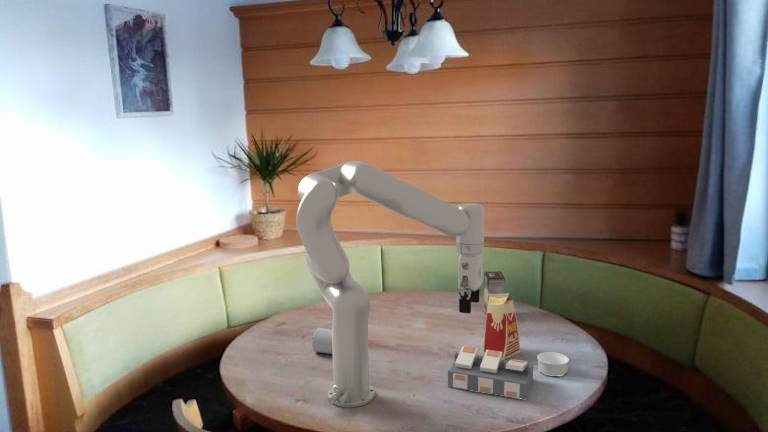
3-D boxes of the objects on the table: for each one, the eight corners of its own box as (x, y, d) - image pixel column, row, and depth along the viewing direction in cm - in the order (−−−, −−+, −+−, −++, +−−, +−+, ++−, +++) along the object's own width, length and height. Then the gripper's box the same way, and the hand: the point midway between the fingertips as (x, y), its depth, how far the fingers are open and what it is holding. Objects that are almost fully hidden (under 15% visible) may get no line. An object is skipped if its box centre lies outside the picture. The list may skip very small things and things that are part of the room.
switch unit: (524, 401, 150) (525, 375, 149) (447, 387, 158) (447, 363, 157) (532, 379, 162) (533, 355, 161) (460, 367, 170) (460, 345, 169)
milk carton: (520, 351, 181) (522, 290, 178) (504, 361, 175) (506, 298, 171) (495, 344, 188) (496, 285, 184) (479, 353, 181) (480, 292, 178)
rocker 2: (522, 371, 152) (523, 365, 152) (505, 368, 154) (505, 363, 154) (527, 366, 159) (527, 361, 160) (510, 363, 161) (511, 358, 161)
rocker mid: (496, 373, 155) (496, 369, 155) (480, 370, 157) (479, 366, 157) (502, 355, 162) (502, 351, 162) (486, 353, 164) (486, 348, 163)
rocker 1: (471, 369, 158) (470, 364, 158) (455, 366, 160) (454, 362, 159) (477, 351, 165) (477, 347, 164) (462, 349, 167) (462, 345, 166)
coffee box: (483, 312, 218) (483, 271, 215) (499, 311, 218) (500, 270, 215) (487, 320, 209) (487, 278, 206) (504, 320, 209) (505, 277, 206)
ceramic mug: (335, 358, 178) (335, 334, 177) (311, 355, 181) (311, 332, 180) (348, 346, 188) (348, 323, 187) (325, 343, 191) (325, 321, 190)
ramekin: (533, 365, 172) (534, 351, 171) (563, 365, 172) (564, 351, 171) (540, 378, 163) (541, 364, 162) (572, 378, 163) (573, 364, 162)
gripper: (475, 256, 150) (475, 319, 153) (490, 242, 166) (489, 299, 169) (448, 254, 153) (447, 315, 156) (464, 240, 169) (464, 296, 172)
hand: (469, 307), depth 162 cm, fingers open, 9 cm apart
